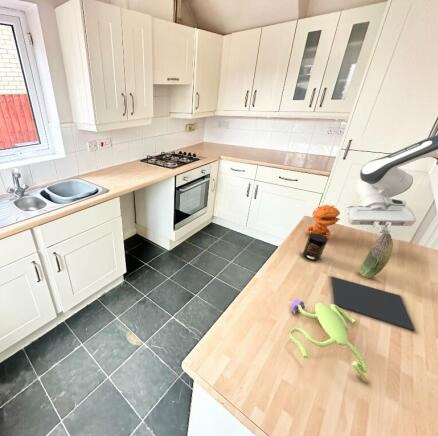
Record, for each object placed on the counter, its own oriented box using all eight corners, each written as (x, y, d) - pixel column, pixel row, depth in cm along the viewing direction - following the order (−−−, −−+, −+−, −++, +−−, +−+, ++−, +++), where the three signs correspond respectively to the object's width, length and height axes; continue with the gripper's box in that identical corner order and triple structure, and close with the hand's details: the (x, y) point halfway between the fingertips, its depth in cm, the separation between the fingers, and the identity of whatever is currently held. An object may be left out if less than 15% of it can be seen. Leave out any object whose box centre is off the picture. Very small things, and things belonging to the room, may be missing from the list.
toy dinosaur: (326, 246, 113) (340, 212, 105) (301, 236, 121) (312, 204, 112) (334, 237, 120) (348, 205, 111) (310, 229, 127) (321, 197, 118)
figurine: (284, 358, 67) (289, 345, 65) (289, 294, 88) (293, 283, 85) (368, 394, 59) (378, 381, 57) (352, 315, 79) (359, 303, 77)
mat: (399, 296, 86) (400, 295, 86) (413, 331, 74) (414, 330, 74) (331, 277, 95) (332, 276, 95) (334, 305, 83) (335, 304, 83)
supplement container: (320, 255, 107) (328, 236, 102) (319, 264, 102) (328, 243, 97) (302, 250, 111) (309, 231, 106) (301, 258, 106) (308, 238, 101)
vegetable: (370, 272, 97) (393, 230, 88) (381, 283, 92) (407, 239, 82) (353, 271, 98) (375, 229, 88) (363, 282, 93) (387, 238, 83)
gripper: (346, 201, 105) (353, 226, 96) (410, 201, 96) (424, 228, 88) (342, 211, 109) (349, 235, 101) (403, 211, 101) (416, 238, 93)
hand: (384, 232), depth 94 cm, fingers closed
